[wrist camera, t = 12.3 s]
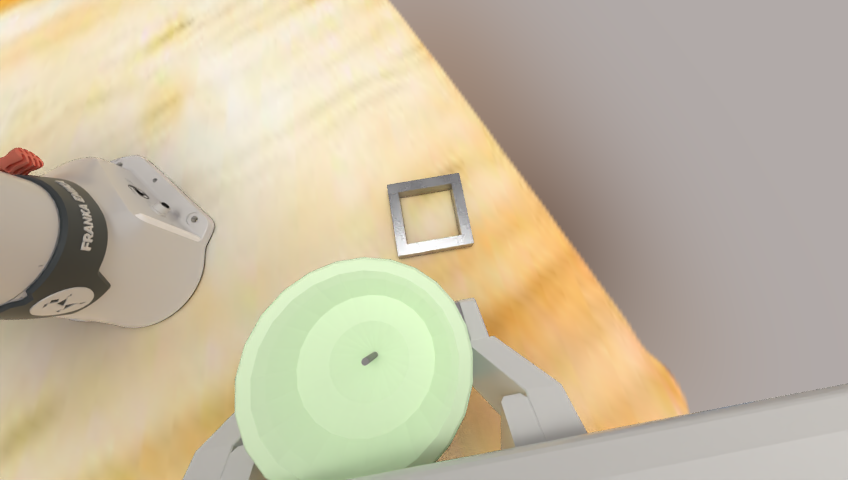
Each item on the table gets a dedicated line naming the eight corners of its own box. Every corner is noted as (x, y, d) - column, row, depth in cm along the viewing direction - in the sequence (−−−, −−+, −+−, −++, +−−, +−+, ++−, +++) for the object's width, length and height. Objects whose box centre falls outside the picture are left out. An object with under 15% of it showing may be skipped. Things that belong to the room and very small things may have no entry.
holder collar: (471, 246, 38) (473, 242, 36) (399, 258, 38) (398, 255, 36) (457, 179, 40) (458, 172, 39) (389, 191, 40) (387, 184, 38)
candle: (417, 260, 15) (390, 204, 7) (480, 352, 14) (535, 411, 6) (328, 321, 14) (189, 337, 6) (386, 420, 13) (306, 585, 5)
